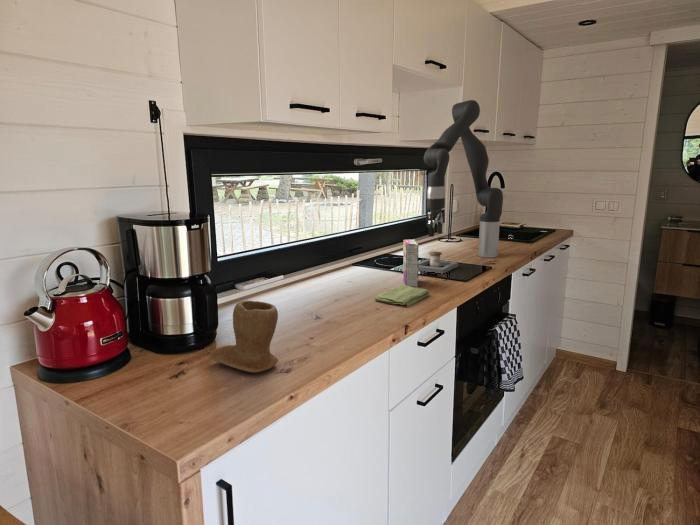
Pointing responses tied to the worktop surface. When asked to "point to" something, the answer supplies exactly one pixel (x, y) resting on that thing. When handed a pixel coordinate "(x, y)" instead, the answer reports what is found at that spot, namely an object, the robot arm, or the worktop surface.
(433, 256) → the cord spool
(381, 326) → the worktop surface
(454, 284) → the worktop surface
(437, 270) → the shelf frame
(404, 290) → the washcloth
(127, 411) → the worktop surface
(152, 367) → the worktop surface
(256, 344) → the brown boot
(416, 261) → the candy bar box
